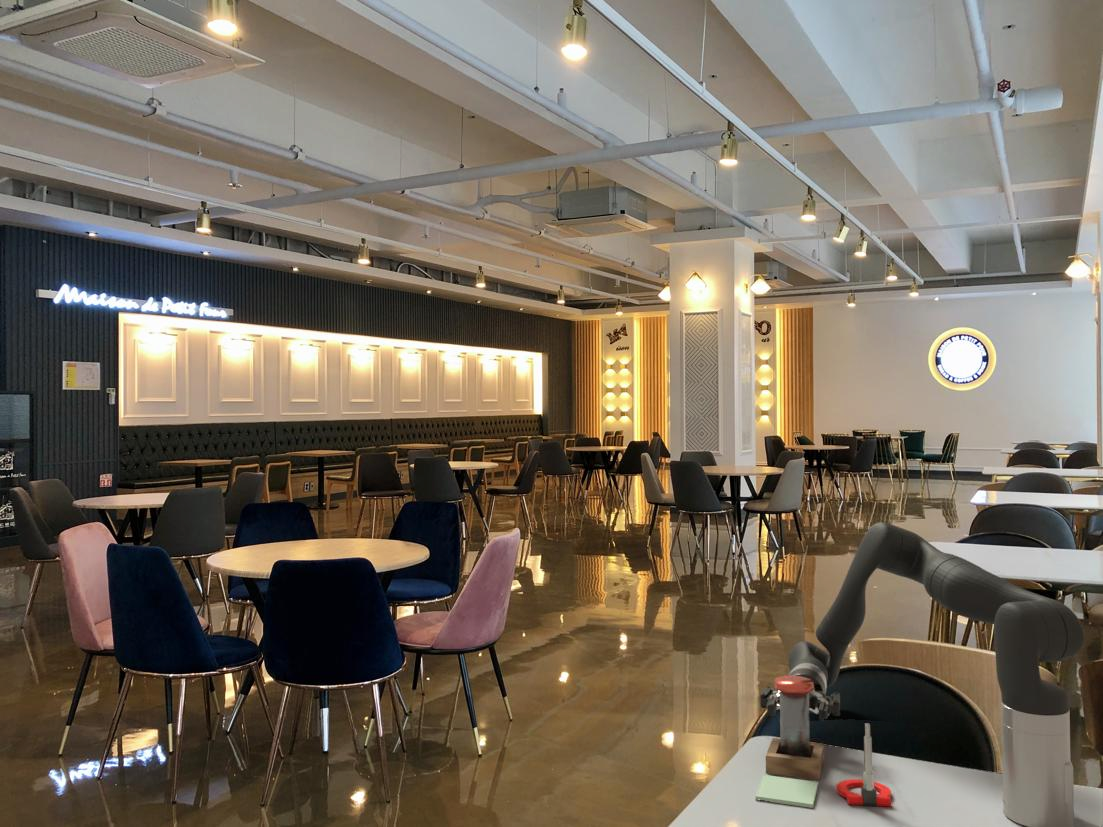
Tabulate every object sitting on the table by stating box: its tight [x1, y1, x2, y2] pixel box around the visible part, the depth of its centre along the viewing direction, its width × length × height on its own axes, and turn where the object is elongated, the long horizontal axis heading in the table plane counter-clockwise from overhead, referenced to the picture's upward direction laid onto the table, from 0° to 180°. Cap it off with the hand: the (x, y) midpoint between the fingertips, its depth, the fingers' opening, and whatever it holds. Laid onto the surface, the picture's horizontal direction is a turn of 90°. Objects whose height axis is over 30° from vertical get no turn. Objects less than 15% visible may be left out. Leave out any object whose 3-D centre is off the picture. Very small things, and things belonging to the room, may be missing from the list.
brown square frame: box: [765, 737, 825, 781], centre depth 159 cm, size 9×9×3 cm
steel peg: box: [774, 675, 814, 758], centre depth 159 cm, size 7×7×15 cm
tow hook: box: [836, 722, 892, 807], centre depth 147 cm, size 8×13×9 cm
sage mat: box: [755, 774, 819, 809], centre depth 148 cm, size 9×9×1 cm
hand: (796, 713), depth 160 cm, fingers open, 8 cm apart
